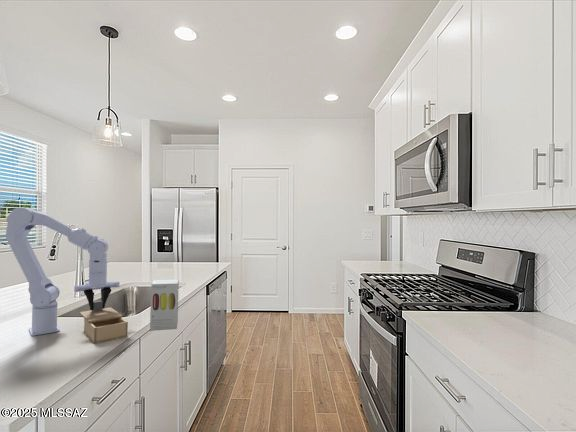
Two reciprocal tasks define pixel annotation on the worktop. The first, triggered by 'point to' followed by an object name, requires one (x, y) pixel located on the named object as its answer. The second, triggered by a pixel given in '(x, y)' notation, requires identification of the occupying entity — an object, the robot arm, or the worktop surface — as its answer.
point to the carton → (106, 329)
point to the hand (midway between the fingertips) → (97, 309)
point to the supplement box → (164, 305)
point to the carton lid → (100, 313)
